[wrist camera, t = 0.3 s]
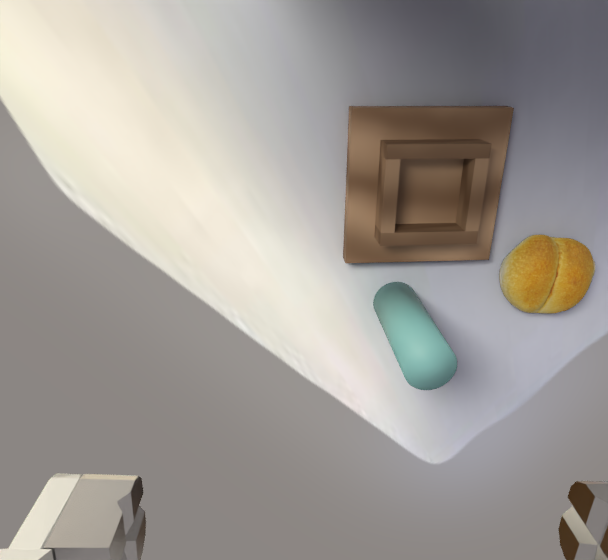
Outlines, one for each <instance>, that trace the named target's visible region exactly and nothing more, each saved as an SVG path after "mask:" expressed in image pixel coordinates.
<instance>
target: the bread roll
mask: <svg viewBox="0 0 608 560" xmlns="http://www.w3.org/2000/svg"><path fill="white" fill-rule="evenodd" d="M594 272H595V262H594V261H593V258H592V255H591V253H590V251H589V249H588V248H587V247H586V246H585V245H583V244H582V243H580V242H578V241H576V240H574V239H570V238H554V237H549V236H546V235H532V236H529V237H528V238H526V239H524V240H523V241H522V242H521V243H520V244H519V245H518V246H516V247H515V248H514V249H513V250H512V251H511V252H510V253H509V254H508V255H507V256H506V257H505V259H504V260H503V262H502V264H501V268H500V273H499V280H500V285H501V289H502V292H503V294H504V296H505V297H506V299H507V300H508V301H509V302H510V303H511V304H512V305H513V306H515V307H516V308H517V309H519V310H521V311H524V312H527V313H558V312H561V311H566V310H568V309H570V308H572V307H573V306H575V305H576V304H577V303H578V302H580V300H581V299H582V298H583V297H584V295H585V294H586V292H587V290H588V288H589V286H590V283H591V281H592V277H593V275H594Z"/></svg>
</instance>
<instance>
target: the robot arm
mask: <svg viewBox="0 0 608 560" xmlns="http://www.w3.org/2000/svg"><path fill="white" fill-rule="evenodd" d="M142 495H143V485H142V478H141V477H139V476H128V475H101V474H84V475H81V474H58V473H57V474H55V475H54V476H53V477H51V478H50V479H49V481H48V482H47V484H46V486H45V487H44V489H43V491H42V493H41V494H40V496H39V497H38V499H37V501H36V503H35V504H34V506H33V508H32V509H31V511H30V512H29V514H28V516H27V518H26V519H25V521H24V523H23V524H22V526H21V528H20V529H19V531H18V533H17V534H16V536H15V538H14V539H13V541H12V543H11V545H10V546H9V548H8V549H0V560H141V556H142V553H143V546H144V541H145V533H146V518H145V511H144V510H143V509H142V508H141V507H140V506H139V504H140V501H141V498H142ZM568 499H569V501H570V502H571V504H572V507H571V508H570V509H569V510H567V511H566V512H565V513H564V514H563V515H562V517H561V521H560V525H559V538H560V546H561V548H562V551H563V554H564V557H565V559H566V560H608V481H576V482H575V483H574V484H573V485H572V486H571V487H570V491H569V494H568Z"/></svg>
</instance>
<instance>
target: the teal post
mask: <svg viewBox="0 0 608 560" xmlns="http://www.w3.org/2000/svg"><path fill="white" fill-rule="evenodd" d="M373 305H374V309H375V312H376V314H377V316H378V318H379V321H380V323H381V325H382V327H383V330H384V332H385V334H386V336H387V338H388V341H389V343H390V345H391V347H392V350H393V352H394V354H395V356H396V359H397V361H398V363H399V365H400V368H401V370H402V372H403V374H404V377H405V379H406V380H407V382H408V383H409V384H410V385H411V386H413V387H415V388H417V389H421V390H432V389H436V388H439V387H441V386H443V385H444V384H446V383H447V382H448V381H449V380H450V379H451V378H452V377H453V375H454V374H455V371H456V368H457V359H456V356H455V354H454V353H453V351H452V350H451V348H450V346H449V345H448V343H447V342H446V340H445V339H444V337H443V336H442V334H441V332H440V331H439V329H438V328H437V326H436V325H435V323H434V322H433V320H432V319H431V317H430V315H429V314H428V312H427V311H426V309H425V308H424V306H423V305H422V303H421V301H420V300H419V298H418V297H417V295H416V294H415V292H414V291H413V289H412V288H411V287H410V286H409V285H407V284H405V283H402V282H392V283H389V284H386V285H384V286H383V287H382V288H380V289H379V290H378V292H377V293H376V295H375V297H374V302H373Z"/></svg>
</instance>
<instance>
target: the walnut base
mask: <svg viewBox="0 0 608 560" xmlns="http://www.w3.org/2000/svg"><path fill="white" fill-rule="evenodd" d="M513 110H514V108H513V107H508V106H349V124H348V149H347V174H346V200H345V225H344V250H343V258H344V261H345V263H374V262H413V261H453V260H489V255H490V249H491V243H492V237H493V231H494V225H495V219H496V213H497V207H498V200H499V194H500V188H501V182H502V176H503V170H504V164H505V158H506V152H507V146H508V140H509V134H510V128H511V122H512V116H513Z"/></svg>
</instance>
